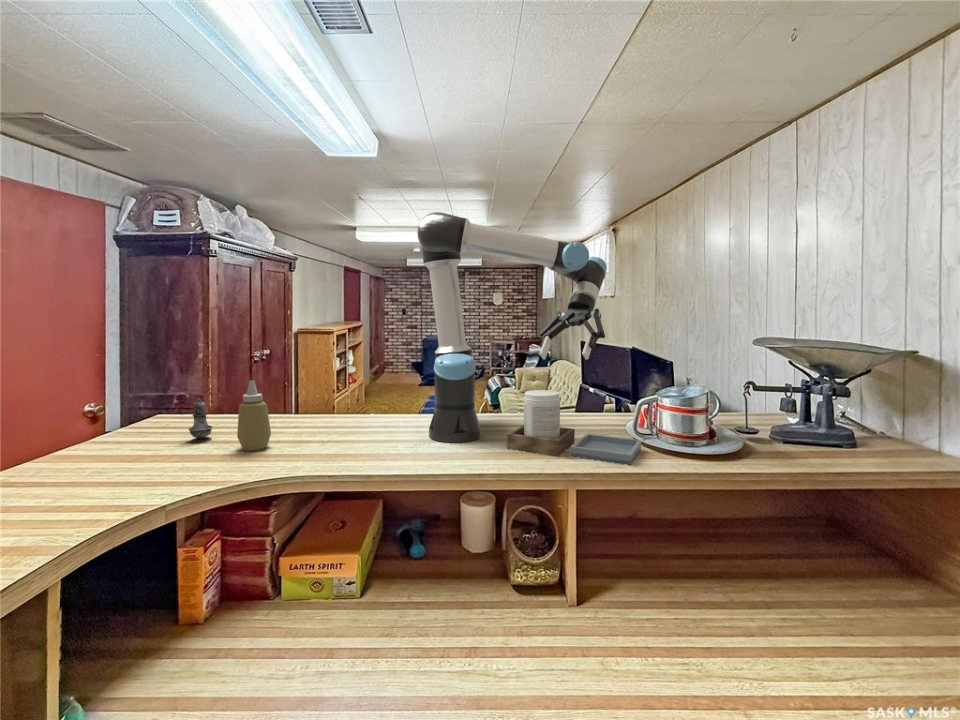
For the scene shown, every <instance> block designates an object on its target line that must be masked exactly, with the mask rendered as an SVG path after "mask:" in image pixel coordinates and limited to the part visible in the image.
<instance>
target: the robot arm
mask: <svg viewBox="0 0 960 720" xmlns="http://www.w3.org/2000/svg"><path fill="white" fill-rule="evenodd" d="M416 234H417V239H418V241H419V244H420V247H421V253H422V255H421V256H422V261H423V263H422V264H423V266H424V267H426V268H427V269H428V270H429V278H430V284H431V285H430V286H431V294H432V301H433V303H432V304H433V310H434V317H435V327H436V332H437V333H436V335H437V342H438V347H437V349H436V350H435V351H434V357H435V360H434V365H433V371H434V411H433V415H432V418H431V422H430V424H429V427H428V437H429V438H430V439H431V440H433V441H437V442H442V443H443V442H444V443H465V442H470V441H475V440H478V439H479V438H481V436H482V427H481V424H480V422H479V417H478V415H477V412H476V369H477V368H476V366H477V365H476V362H475V359H474V357H473V352H472V347H471V346H470V345H468V343H467V341H466V334H465V326H464V325H465V324H464V318H463V317H464V315H463V307H462V301H461V300H462V299H461V298H462V297H461V290H460V283H459V273H458V266H459V264H460V263H461V261H462V258H461V254H463V253H464V252H467V251H468V252H472V253H477V254H481V255H482V254H483V255H488V256H493V257H498V258H504V259H508V260H513V261H520V262H524V263H528V264H529V263H530V264H534V265H539V266H544V267H546V268H548V269H549V270H551V271H553V272H555V273H558V274H559V275H561V276H562V277H565V278H567V279H569V280H570V281H573V282H575V283H576V284H575V286H574V289H573V291H572V294H571V297H570V299H569V302H568V304H567V310H566V311H565V312H561V310H558V311H556V313H555V315H554V316H553V318H551V320H550V321H549V322H548V323H547V324H546V325H545V326H544V327H543V328H542V330H540V331H539V333H538V335H539V337H540V338H541V343H540V347H541V348H540V351H539V353H538V355H540V357H541V358H542V360H546V359H547V356H548V353H549V350H550V348H551V345H552V340H553V339H554V338H555V337H557V335H559V334H560V333H561V332H563V331H564V330H566V329H569V328H570V327H576V326H577V327H581V326H582V325H584V327H585V328H586V329H587V330H588V332H589V334H587V337H586V340H585V344H584V347H583V349H582V352H581V354H582V357H583V358H584V359H585V360H586V361H587V360H589V358H590V354H591V351H592V349H594V348H595V347H596V345H597V341H598V340H599V339H604V338H606V334H605V331H604V327H603V323H602V320H601V319H602V313H601V312H600V309H599V308H595V307H596V303H597V300H598V297H599V295H600V291H601V288H602V285H603V282H604V280H605V278H606V275H607V274H606V273H607V269H608V266H607V263H606V261H605V260H604V259H602V258H601V257H595V256H590V252H589V249H588V247H587V246H586V245H585V244H584V243H582V242H579V241H574V242H566V241H562V240H561V241H560V240H557V239H552V238H547V237H542V236H536V235H531V234H528V233H520V232H516V231H511V230H507V229H502V228H497V227H492V226H486V225H482V224H477V223H473V222H472V223H471V221H470V220H469V218H466V217H461V216H457V215H453V214H449V213H445V212H441V211H436V212H431V213H429V214H426V215H425V216H424V217H422V219H421V220H420V222H419V223H418V226H417V233H416ZM591 318H593V320H594V322H595V326H596V329H597V330H596V331H595V330H594V328H593V326H591V324H590V322H589V320H590V319H591Z"/></svg>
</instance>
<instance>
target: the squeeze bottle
mask: <svg viewBox="0 0 960 720" xmlns="http://www.w3.org/2000/svg"><path fill="white" fill-rule="evenodd" d="M263 399H264V398H263V394H262V393H258V389H257V385H256V381H255V380H249V381H248V386H247V391H246V393H245V394H243V395H242V403H240V404H238V418H237V421H238V422H237V435H236V436H237V437H236V438H237V439H238V441H239V444H240V446H241V449H242V450H243V451H247V452H249V451H250V452H254V451H260V450H263V449H266V448H267V447H268V444H269V443H270V438H271V436H272V429H271V424H270V417H269V411H268V404H267V403H266V402H265V401H263Z"/></svg>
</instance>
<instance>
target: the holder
mask: <svg viewBox="0 0 960 720" xmlns="http://www.w3.org/2000/svg"><path fill="white" fill-rule="evenodd" d="M575 433H576V432H575V428H570V427H561V426H560V437H559V438H557V439H556V440H554V439H547V438H539V437H532V436H524V424H523V425H522V426H520V427H518V428H516V429H514V430H512V431H510V432H509V433H507V434H506V435H507V436H506V438H507V439H506V450H510V449H512V450H511V451H516V450H518V451H519V452H523V451H525V453H530V452H531V454H536V453H538V455H545V456H551V457H556V456H557V457H560V456H561V455H562V454H563V453H565V450H566V449H567V450H568V449H569V448H571V445H572V444H575V435H576V434H575ZM567 450H566V451H567ZM559 455H560V456H559ZM557 457H556V458H557Z"/></svg>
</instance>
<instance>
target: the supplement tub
mask: <svg viewBox="0 0 960 720" xmlns="http://www.w3.org/2000/svg"><path fill="white" fill-rule="evenodd" d="M560 398H561V397H560V392H559V391H557V390H550V389H549V390H548V389H534V390H527V391H525V392H524V396H523V425H524V436H532V437H539V438H547V439H554V440H556V439H557V438H559V437H560V427H561V399H560Z"/></svg>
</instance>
